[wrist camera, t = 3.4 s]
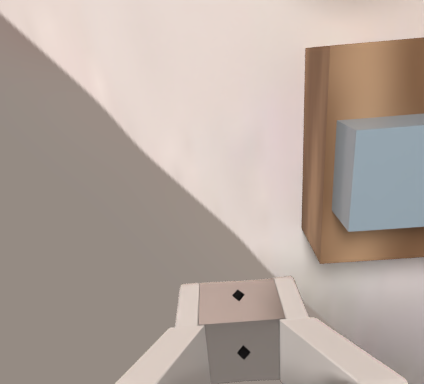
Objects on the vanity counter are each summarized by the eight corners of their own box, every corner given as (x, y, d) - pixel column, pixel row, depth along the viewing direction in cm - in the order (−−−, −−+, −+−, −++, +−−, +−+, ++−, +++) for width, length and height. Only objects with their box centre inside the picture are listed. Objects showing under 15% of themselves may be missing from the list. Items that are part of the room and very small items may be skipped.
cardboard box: (496, 31, 19) (574, 24, 15) (457, 217, 24) (508, 251, 20) (305, 48, 20) (330, 45, 16) (301, 228, 24) (320, 263, 20)
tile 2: (437, 112, 17) (473, 121, 14) (422, 203, 19) (452, 224, 16) (336, 120, 17) (356, 130, 15) (331, 210, 19) (348, 231, 16)
